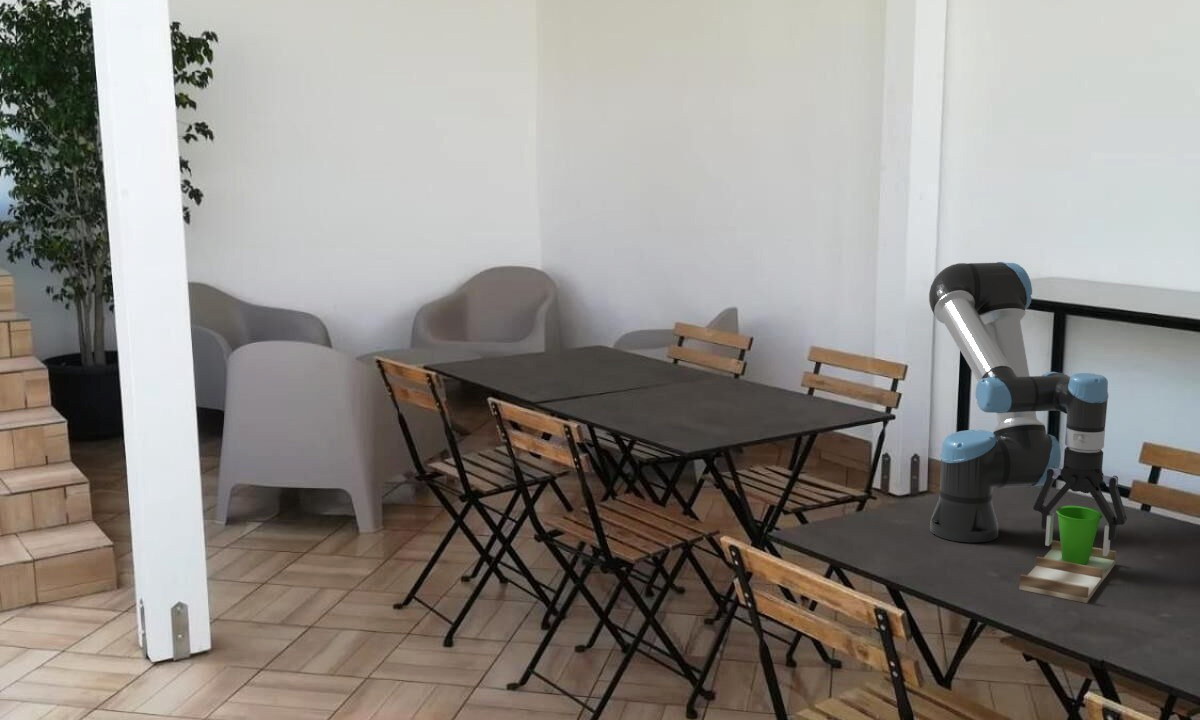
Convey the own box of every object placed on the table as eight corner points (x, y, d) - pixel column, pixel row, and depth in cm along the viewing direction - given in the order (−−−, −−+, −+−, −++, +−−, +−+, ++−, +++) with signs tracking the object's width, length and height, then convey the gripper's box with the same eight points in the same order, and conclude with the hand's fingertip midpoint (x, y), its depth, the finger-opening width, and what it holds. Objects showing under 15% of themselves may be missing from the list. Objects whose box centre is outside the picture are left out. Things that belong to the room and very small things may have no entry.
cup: (1103, 570, 251) (1108, 520, 248) (1058, 569, 251) (1063, 519, 249) (1090, 555, 259) (1094, 506, 257) (1047, 553, 260) (1051, 505, 258)
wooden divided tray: (1019, 589, 244) (1020, 575, 243) (1051, 553, 264) (1052, 540, 264) (1086, 602, 236) (1087, 588, 236) (1114, 564, 257) (1115, 551, 257)
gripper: (1021, 444, 254) (1015, 543, 258) (1140, 460, 241) (1132, 564, 245) (1031, 436, 260) (1025, 534, 264) (1148, 452, 247) (1139, 554, 251)
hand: (1076, 549), depth 255 cm, fingers open, 11 cm apart
